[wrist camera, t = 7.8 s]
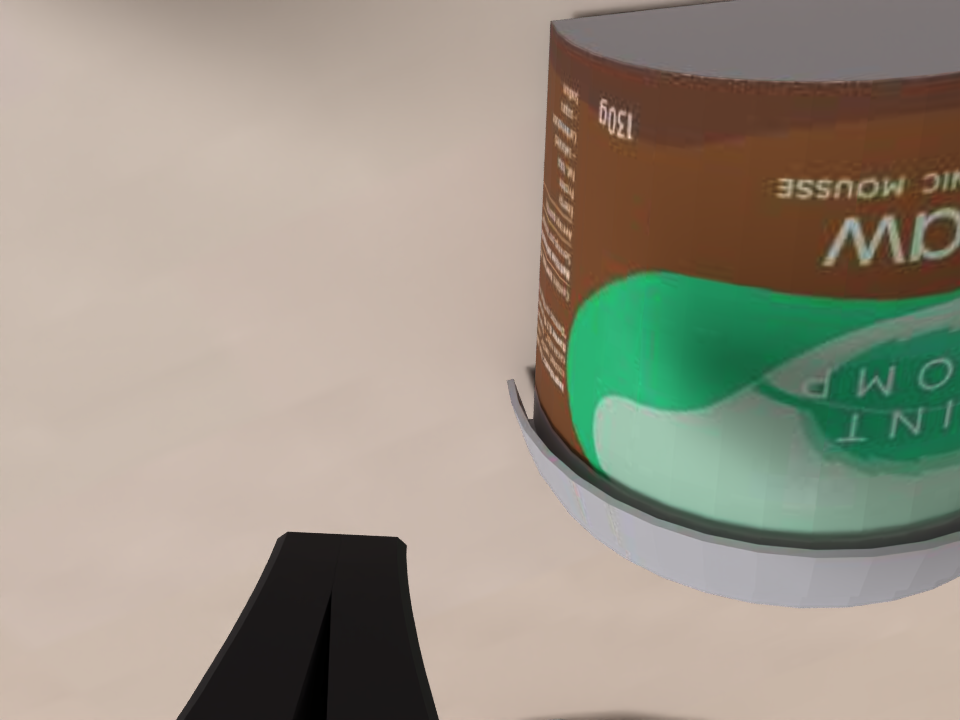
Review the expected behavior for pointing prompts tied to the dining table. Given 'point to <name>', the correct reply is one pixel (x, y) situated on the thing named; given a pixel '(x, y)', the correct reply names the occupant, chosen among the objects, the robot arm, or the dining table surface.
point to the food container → (756, 295)
